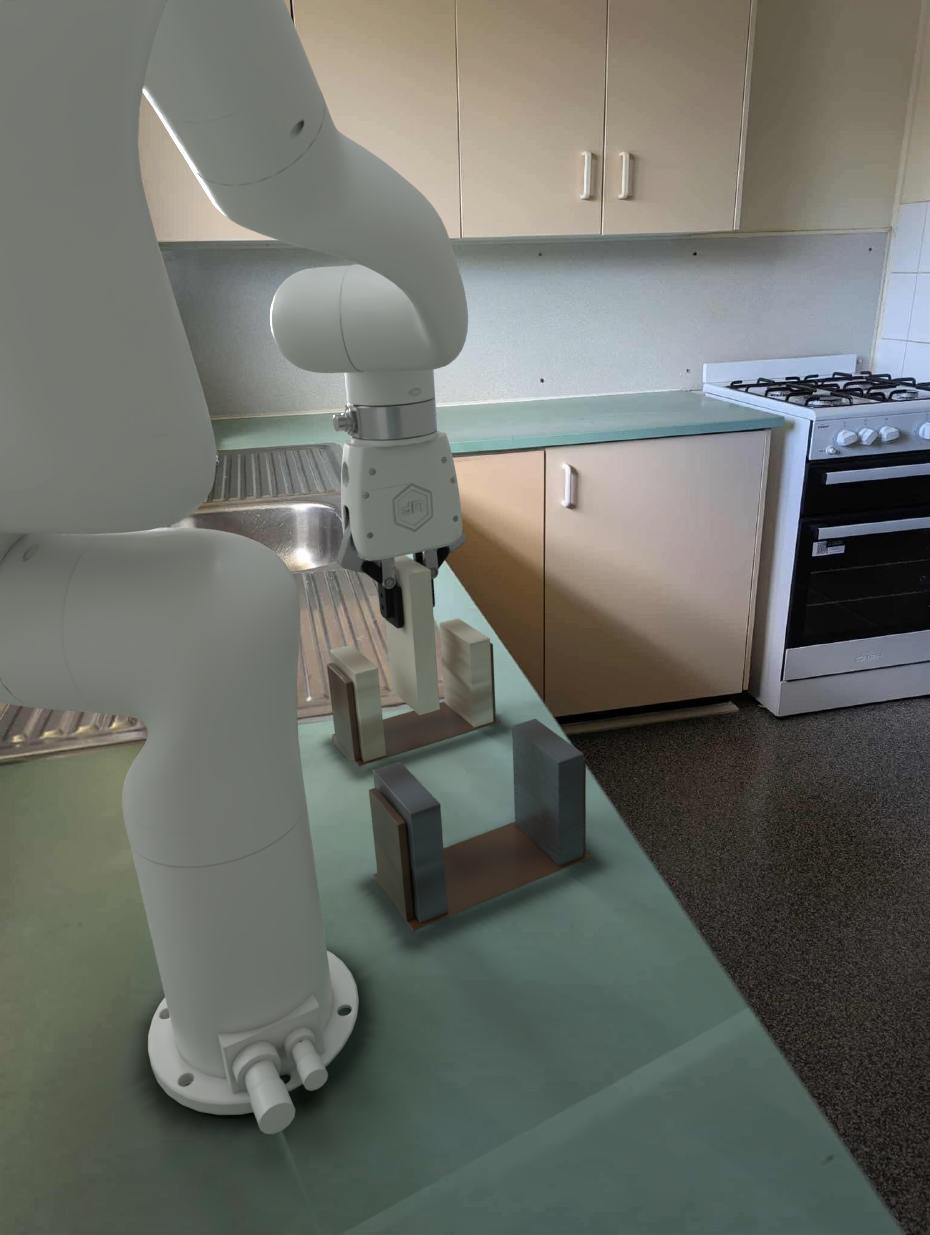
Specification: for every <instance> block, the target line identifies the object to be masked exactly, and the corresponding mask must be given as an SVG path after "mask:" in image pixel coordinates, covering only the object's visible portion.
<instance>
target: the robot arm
mask: <svg viewBox="0 0 930 1235" xmlns="http://www.w3.org/2000/svg"><path fill="white" fill-rule="evenodd" d="M143 94H144V96H145V97H146V99H147V101H148V102H149V104H150V105H151V106H152V108H153V109H154V112H155V113H156V115H157V116H158V117H159V119H160V121H161V122H162V124H163V125H164V127H165V129H166V130H167V132H168V133H169V135H170V137H171V138H172V140H173V142H174V143H175V145H176V147H177V148H178V149H179V151H180V152H181V154H182V156H183V157H184V159H185V160H186V162H187V164H188V166H189V167H190V169H191V171H192V172H193V174H194V176H195V177H196V179H197V181H198V182H199V184H200V185H201V187H202V188H203V190H204V192H205V193H206V195H207V197H208V198H209V200H210V201H211V203H212V204H213V206H214V207H215V208H216V209H217V210H218V211H219V212H220V213H221V215H222V216H224V217H225V218H227V219H228V220H230V221H231V222H233V223H235V224H236V225H239V226H240V227H242V228H245V229H247V230H249V231H251V232H255V233H258V234H260V235H262V236H265V237H268V238H270V239H274V240H278V242H282V243H286V244H288V245H292V246H296V247H299V248H302V249H307V250H311V251H315V252H318V253H322V254H326V255H330V256H333V257H336V258H340V259H344V260H347V261H349V262H352V263H355V264H351V265H336V266H335V265H334V266H333V265H332V266H320V267H310V268H305V269H302V270H299V271H296V272H295V273H293V274H291V275H289V276H288V277H287V278H285V280H283V282H282V283H281V284H280V285H279V286H278V288H277V290H276V291H275V293H274V295H273V298H272V302H271V306H270V311H269V312H270V314H269V321H270V323H269V324H270V329H271V334H272V337H273V341H274V342H275V345H276V347H277V348H278V350H279V352H280V353H281V355H282V356H283V357H284V358H285V359H286V360H287V361H288V362H289V363H290V364H292V365H293V366H295V367H297V368H299V369H301V370H304V371H306V372H311V373H318V374H343V376H344V384H345V394H346V395H345V396H346V403H345V404H344V409H345V410H344V412H341V414H335V415H333V417H332V423H333V428H334V430H335V431H336V432H343V431H344V433H347V435H349V437H350V438H349V439H347V440H344V442H343V449H342V457H341V458H342V460H341V470H340V511H341V512H340V513H341V526H342V527H341V528H342V534H343V537H342V540H341V543H340V546H339V550H338V554H337V556H336V564H337V565H338V566H340V567H341V568H343V569H344V570H347V571H352V572H356V573H362V574H365V575H366V576H368V577H369V578H371V579H372V580H374V581H375V582H376V584H377V592H378V593H377V594H378V605H379V612H380V616H382V618H383V619H384V620H385V619H386V620H387V621H388V622H389V623H391V624H392V625H393V626H395V627H396V628H397V629H398V628H402V627H403V626H404V612H403V599H402V589H401V587H399V586H398V585H397V583H396V578H395V560H394V557H399V556H403V555H406V556H408V555H412V559H413V560H414V561H416V562H418V563H419V564H421V565H423V566H424V567H426V568H428V569H430V570H431V585H432V600H433V608H435V607H436V597H435V595H436V594H435V582H434V581H435V580H434V579H436V578H437V577H438V575H439V569H440V568H441V566H442V565H443V564H444V562H445V561H446V560H447V558H448V557H449V555H450V554H451V553H453V552H455V551H456V550H457V549H459V548H460V547H462V546H463V545H465V543H466V542H467V536H466V534H465V532H464V531H463V514H462V505H461V497H460V490H459V483H458V477H457V470H456V466H455V461H454V457H453V454H452V448H451V444H450V441H449V437H448V435H447V433H446V432H444V431H438V423H437V422H438V420H437V419H438V418H437V402H436V389H435V387H436V386H435V372H434V370H437V369H441V368H444V367H446V366H448V365H450V364H451V363H453V362H454V361H455V360H456V359H457V358H458V356H459V355H460V354H461V352H462V351H463V349H464V346H465V345H466V341H467V335H468V331H469V309H468V301H467V296H466V291H465V287H464V282H463V278H462V275H461V270H460V269H459V265H458V261H457V259H456V255H455V252H454V249H453V246H452V243H451V239H450V237H449V233H448V231H447V228H446V226H445V224H444V222H443V220H442V218H441V216H440V214H439V213H438V212H437V210H436V208H435V207H434V206H433V204H432V203H431V201H429V200H428V198H426V196H425V195H424V194H423V193H422V192H421V191H420V190H419V189H418V188H417V187H416V186H415V185H413V183H411V182H410V181H408V179H407V178H405V177H404V176H403V175H401V174H400V173H399V172H398V171H397V170H395V169H394V168H393V167H392V166H390V165H389V163H387V162H385V161H384V160H383V159H381V158H380V157H378V156H377V155H376V154H374V153H373V152H371V151H370V150H368V148H366V147H364V146H363V145H361V144H359V143H357V142H356V141H355V140H353V139H351V138H350V137H348V136H346V135H345V134H343V133H342V132H340V131H339V129H338V128H337V126H336V125H335V122H334V120H333V118H332V116H331V113H330V111H329V107H328V105H327V103H326V99H325V97H324V94H323V92H322V90H321V87H320V84H319V83H318V80H317V78H316V75H315V72H314V70H313V68H312V65H311V63H310V60H309V58H308V56H307V53H306V51H305V48H304V46H303V43H302V41H301V38H300V36H299V33H298V30H297V29H296V26H295V23H294V21H293V18H292V16H291V14H290V11H289V8H288V6H287V4H286V0H0V703H3V704H6V705H12V706H16V707H24V708H29V709H30V708H32V709H39V710H52V711H66V712H78V713H79V712H81V713H93V714H106V715H109V716H115V717H117V716H118V717H125V718H133V719H135V720H138V721H140V722H141V723H142V724H143V725H144V726H145V728H146V732H147V733H146V740H145V743H144V745H143V747H141V749H140V751H139V752H138V753H137V755H136V757H135V758H134V760H133V761H132V763H131V765H130V767H129V769H128V771H127V772H126V774H125V775H126V776H125V778H124V782H123V785H122V792H121V793H122V794H121V808H122V816H123V822H124V827H125V830H126V835H127V839H128V840H127V841H128V842H129V845H130V850H131V854H132V859H133V863H134V867H135V871H136V876H137V880H138V884H139V889H140V893H141V898H142V902H143V907H144V911H145V916H146V920H147V924H148V925H147V926H148V928H149V933H150V938H151V942H152V946H153V950H154V955H155V959H156V964H157V968H158V972H159V976H160V981H161V986H162V990H163V993H164V998H163V999H162V1000H161V1002H160V1003H159V1005H158V1007H157V1008H156V1011H155V1012H154V1015H153V1016H152V1019H151V1023H150V1027H149V1029H148V1030H149V1031H148V1036H147V1052H148V1056H149V1057H148V1058H149V1061H150V1062H149V1063H150V1067H151V1070H152V1072H153V1075H154V1077H155V1079H156V1081H157V1084H158V1085H159V1086H160V1087H161V1088H162V1090H163V1091H164V1092H165V1094H167V1096H168V1097H170V1098H171V1099H173V1100H175V1102H177V1103H179V1104H181V1106H184V1107H186V1108H189V1109H192V1110H194V1111H195V1112H200V1113H206V1114H212V1115H216V1116H229V1115H230V1116H235V1115H236V1116H237V1115H238V1116H241V1115H245V1114H251V1113H253V1114H254V1117H255V1119H256V1122H257V1125H258V1128H259V1130H260V1132H262V1133H263V1134H265V1135H276V1134H278V1133H280V1132H283V1131H284V1130H285V1129H286V1128H287V1127H289V1126H290V1125H291V1124H292V1122H293V1120H294V1119H295V1117H296V1116H295V1115H296V1107H295V1105H294V1103H293V1101H292V1099H291V1098H292V1097H291V1096H290V1093H289V1092H291V1091H293V1090H295V1089H297V1088H299V1087H300V1086H302V1085H303V1087H304V1088H305V1090H307V1091H310V1092H313V1091H315V1090H318V1089H320V1088H321V1087H323V1086H324V1085H325V1084H326V1082H327V1081H328V1078H329V1072H328V1071H327V1069H326V1067H327V1066H329V1065H330V1063H332V1061H333V1060H335V1058H336V1057H337V1056H338V1055H339V1053H340V1052H341V1051H342V1050H343V1048H344V1047H345V1045H346V1043H347V1041H348V1040H349V1038H350V1036H351V1035H352V1033H353V1030H354V1027H355V1025H356V1022H357V1019H358V1013H359V1004H360V1001H359V1000H360V999H359V991H358V985H357V982H356V980H355V978H354V975H353V973H352V972H351V971H350V969H349V968H348V966H347V965H346V964H345V962H344V961H343V960H342V959H340V958H339V957H337V955H336V954H334V953H333V952H331V951H329V950H327V949H328V948H327V942H326V934H325V926H324V921H323V920H324V919H323V914H322V906H321V897H320V891H319V882H318V876H317V869H316V860H315V854H314V847H313V846H314V845H313V840H312V831H311V824H310V816H309V809H308V803H307V796H306V789H305V782H304V775H303V767H302V766H303V765H302V758H301V748H300V747H301V746H300V739H299V725H298V724H299V723H298V674H299V671H298V670H299V655H300V641H301V640H300V639H301V605H300V604H301V603H300V596H299V591H298V587H297V583H296V580H295V578H294V576H293V573H292V571H290V568H289V567H288V566H287V564H286V563H285V562H284V560H283V559H282V558H281V557H280V556H279V555H278V554H277V553H276V552H275V551H274V550H272V549H271V548H269V547H268V546H266V545H264V544H263V543H261V542H259V541H257V540H254V539H252V538H249V537H247V536H244V535H241V534H237V533H234V532H228V531H225V530H224V531H223V530H219V529H209V528H201V527H200V528H199V527H174V526H173V527H172V526H171V525H174V524H176V523H179V522H181V521H182V520H183V521H184V520H185V519H186V518H188V517H189V516H191V515H192V514H194V513H195V512H196V511H197V510H198V509H200V508H201V506H202V505H203V504H204V502H205V501H206V500H207V498H208V496H209V495H210V493H211V491H212V489H213V486H214V482H215V480H216V479H215V478H216V470H217V469H216V468H217V458H218V457H217V445H216V438H215V437H216V436H215V433H214V429H213V424H212V420H211V415H210V411H209V407H208V404H207V401H206V397H205V393H204V390H203V386H202V383H201V379H200V376H199V372H198V369H197V366H196V363H195V359H194V357H193V356H194V355H193V353H192V349H191V346H190V343H189V339H188V336H187V332H186V329H185V327H184V323H183V320H182V317H181V313H180V309H179V307H178V304H177V301H176V300H177V299H176V297H175V293H174V290H173V287H172V284H171V281H170V278H169V274H168V272H167V268H166V264H165V261H164V258H163V254H162V252H161V251H162V250H161V249H160V245H159V243H158V238H157V235H156V232H155V231H156V230H155V227H154V223H153V220H152V215H151V213H150V212H151V211H150V208H149V204H148V201H147V196H146V192H145V187H144V183H143V178H142V170H141V168H142V167H141V159H140V157H141V156H140V147H139V135H140V134H139V133H140V116H141V114H140V112H141V103H142V97H143ZM167 526H171V527H167ZM345 1008H347V1009H349V1010H351V1011H350V1012H349V1013H348V1014H347V1015H340V1014H339V1012H340V1010H342V1009H345ZM281 1076H288V1077H289V1078H290V1079H289V1081H288V1082H287V1083H285V1082H284V1080H283V1079H282V1078H281Z"/></svg>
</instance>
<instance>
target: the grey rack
mask: <svg viewBox="0 0 930 1235" xmlns="http://www.w3.org/2000/svg"><path fill="white" fill-rule="evenodd" d="M511 733H512V734H511V737H512V738H511V739H512V740H511V741H512V771H513V773H512V774H513V795H514V796H513V802H514V821H513V822H510V823H508V824H505V825H502V826H500V827H497V828H494V829H492V830H488V831H486V832H484V833H483V832H482V833H481V834H478V835H475V836H472V837H470V838H467V839H464V840H462V841H459V842H457V843H454V844H451V845H449V846H446V847H444V837H443V822H442V809H441V808H442V807H441V803H440V802H439V801H438V800H437V798H435V796H433V794H432V793H431V792H429V790H428V789H427V788H426V786H425V785H423V784H422V782H420V781H419V779H418V778H417V777H416V776H414V774H413V773H412V772H411V771H410V770H409V769H408V768H407V767H406V766H405V765H404V764H403V763H402V762H401V761H398V762H395V763H394V762H393V763H391V764H388V765H385V766H383V767H382V766H381V767H379V768H375V769H373V770H372V776H373V785H374V786H373V788H370V789H368V798H369V806H370V817H371V825H372V833H373V834H372V836H373V843H374V844H373V846H374V854H375V863H376V865H375V866H376V873H374V874H373V875H372V876H373V877H374V879H375V880H376V882H377V883H378V884H379V886H380V887H381V888H382V890H383V891H384V893H385V894H386V895H387V897H388V898H389V900H390V902H391V903H392V904H393V906H394V907H395V908H396V910H397V911H398V912H399V914H400V915H401V917H402V918H403V919H404V921H405V922H406V923H407V925H408V926H409V928H410V929H411V931H412V932H415V931H416V930H419V929H421V928H424V927H426V926H428V925H431V924H434V923H436V922H438V921H439V922H440V921H441V920H443V919H446V918H447V917H450V916H453V915H456V914H457V913H458V914H459V913H460V912H463V911H465V910H468V909H469V908H472V907H475V906H477V905H479V904H483V903H485V902H487V901H490V900H491V899H495V898H497V897H499V896H501V895H504V894H506V893H510V892H512V891H513V890H516V889H519V888H521V887H523V886H526V885H528V884H531V883H533V882H536V881H537V880H540V879H542V878H545V877H547V876H550V875H552V874H554V873H557V872H560V871H562V870H564V869H567V868H569V867H572V866H575V865H576V864H579V863H582V862H584V861H587V860H590V859H591V858H593V857H594V855H593V854H592V853H591V852H589V851H588V850H587V848H586V844H587V843H586V842H587V841H586V838H587V837H586V836H587V835H586V834H587V833H586V832H587V831H586V823H587V822H586V821H587V820H586V819H587V818H586V817H587V816H586V815H587V814H586V813H587V812H586V810H587V808H586V807H587V798H586V797H587V788H586V787H587V778H586V777H587V773H586V772H587V758H586V757H585V756H584V755H585V754H584V753H583V752H582V751H581V750H579V749H577V748H576V747H575V746H574V745H572V744H571V743H569V742H568V741H567V740H566V739H564V738H562V737H561V736H560V735H558V734H557V733H556V732H555V731H553V730H552V729H550V728H549V727H548V726H546V725H545V724H543V723H542V722H541V721H540V720H538V719H537V718H532V719H530V720H527V721H524V722H521V723H517V724H515V725H512V726H511Z"/></svg>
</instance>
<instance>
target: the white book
mask: <svg viewBox="0 0 930 1235" xmlns="http://www.w3.org/2000/svg"><path fill="white" fill-rule="evenodd" d="M394 560H395V578H396V583H397V585H398V586H399V587H401V589H402V599H403V612H404V626H403V627H402V628H398V629H397V628H396V627H395V626H393V625H392V624H391V623H389V622H388V621H387V620H386V619H385V618H384V623H385V632H386V644H387V654H388V656H387V657H388V667H389V678H390V687H391V688H390V689H391V691H392V692H393V693H394V694H395V695H396V696H397V697H399V699H401V700H402V701H403V702H404V703H405V704H406V705H407V706H408V707H410V709H411V710H412V711H415V712H416V713H417V714H418V715H422V714H426V713H429V712H432V711H436V710H439V709H440V705H439V703H440V691H439V677H438V676H439V675H438V662H437V647H436V635H435V634H436V632H435V630H436V629H435V617H434V616H435V615H434V607H433V600H432V585H431V570H430V569H428V568H426V567H424V566H423V565H421V564H419V563H418V562H416V561H414V560H413V558H410V557H409V556H408V555H403V556H399V557H394Z"/></svg>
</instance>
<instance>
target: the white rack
mask: <svg viewBox="0 0 930 1235" xmlns="http://www.w3.org/2000/svg"><path fill="white" fill-rule="evenodd" d="M439 637H440V638H439V640H440V653H441V670H442V684H443V685H442V686H443V700H444V701H442V702H439V705H440V709H439V710H436V711H432V712H429V713H426V714H422V715H418V714H417V713H416V712H415V711H414V710H411V711H407V712H403V713H400V714H397V715H394V716H390V717H386V718H383V709H382V708H383V707H382V698H381V686H380V685H381V684H380V675H379V668H378V667H377V666H376V665H375V664H374V663H373V662H372V661H371V660H369V659H368V658H367V657H366V656H365V655H364V654H363V653H361V651H359V650H358V649H357V648H356V647H355V646H354V645H352V644H349V645H344V646H341V647H336V648H332V649H329V654H330V662H329V663H327V664H326V670H327V677H328V686H329V696H330V703H331V713H332V719H333V721H332V722H333V729H334V733H332V734H331V738H332V744H333V745H334V746H335V748H337V749H338V751H339V752H340V753H341V754H342V756H343V757H344V758H345V759H346V761H347V762H348V761H352V760H353V761H354V763H355V764H356V765H357V766H358V767H361V766H365V765H367V764H371V763H374V762H377V761H380V760H383V759H386V758H390V757H393V756H396V755H400V754H402V753H406V752H409V751H412V750H416V749H418V748H422V747H424V746H428V745H432V744H434V743H438V742H441V741H444V740H448V739H450V738H451V739H452V738H453V737H457V736H460V735H463V734H464V735H465V734H466V733H470V732H473V731H476V730H479V729H483V728H485V727H488V726H493V725H495V724H498V723H501V720H500V719H498V717H497V713H496V712H497V711H496V709H497V708H496V686H495V660H494V644H493V643H492V642H491V638H490V637H488V636H486V635H485V634H483V633H482V632H481V631H479V630H478V629H476V628H474V627H473V626H471V625H470V624H468V623H466V622H465V621H463V619H461V618H457V617H456V618H454V619H449V620H446V621H442V622H439Z"/></svg>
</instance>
